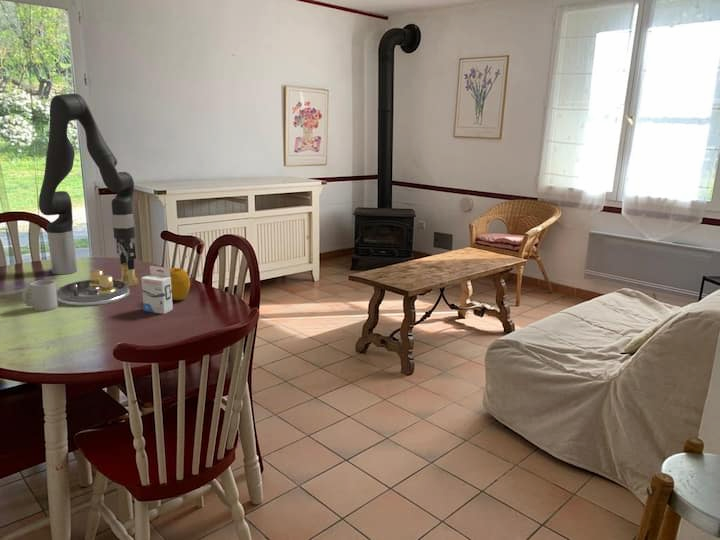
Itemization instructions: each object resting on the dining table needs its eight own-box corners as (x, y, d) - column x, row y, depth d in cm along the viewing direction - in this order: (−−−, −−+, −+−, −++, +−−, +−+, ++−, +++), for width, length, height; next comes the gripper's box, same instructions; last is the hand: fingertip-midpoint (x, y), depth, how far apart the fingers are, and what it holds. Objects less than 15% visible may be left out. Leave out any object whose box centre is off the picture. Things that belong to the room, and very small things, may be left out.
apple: (157, 299, 196) (155, 267, 193) (180, 293, 204) (178, 262, 201) (173, 305, 191) (171, 272, 188) (196, 298, 198) (195, 267, 195)
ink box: (142, 311, 184) (139, 268, 180) (152, 306, 188) (149, 265, 185) (164, 314, 181) (161, 271, 178) (173, 309, 186) (170, 267, 182)
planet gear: (117, 283, 214) (115, 263, 212) (135, 280, 218) (133, 261, 216) (123, 287, 209) (121, 267, 207) (141, 284, 213) (139, 264, 211)
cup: (58, 309, 183) (55, 284, 181) (23, 314, 178) (20, 287, 176) (57, 303, 189) (54, 278, 187) (23, 307, 184) (20, 282, 182)
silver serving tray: (50, 293, 199) (47, 273, 197) (117, 283, 214) (115, 264, 212) (67, 310, 182) (64, 288, 180) (139, 297, 197) (137, 277, 195)
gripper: (107, 224, 210) (111, 265, 214) (119, 229, 200) (123, 272, 204) (127, 222, 215) (131, 262, 219) (140, 227, 205) (143, 269, 209)
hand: (127, 267), depth 211 cm, fingers open, 8 cm apart
